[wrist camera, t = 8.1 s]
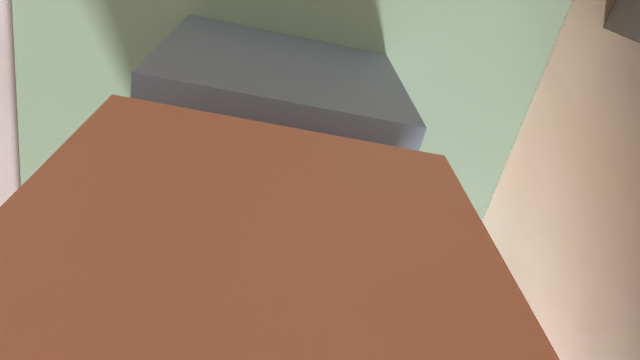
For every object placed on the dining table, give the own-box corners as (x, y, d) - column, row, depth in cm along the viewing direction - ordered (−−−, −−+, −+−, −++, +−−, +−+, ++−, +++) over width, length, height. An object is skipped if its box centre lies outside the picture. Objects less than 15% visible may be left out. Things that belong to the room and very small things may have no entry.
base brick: (386, 54, 16) (427, 127, 11) (342, 218, 19) (358, 341, 14) (189, 13, 16) (131, 72, 10) (172, 190, 18) (119, 308, 13)
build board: (587, -87, 16) (607, -86, 15) (427, 320, 23) (433, 340, 22) (23, -229, 14) (0, -239, 13) (39, 264, 21) (25, 283, 20)
